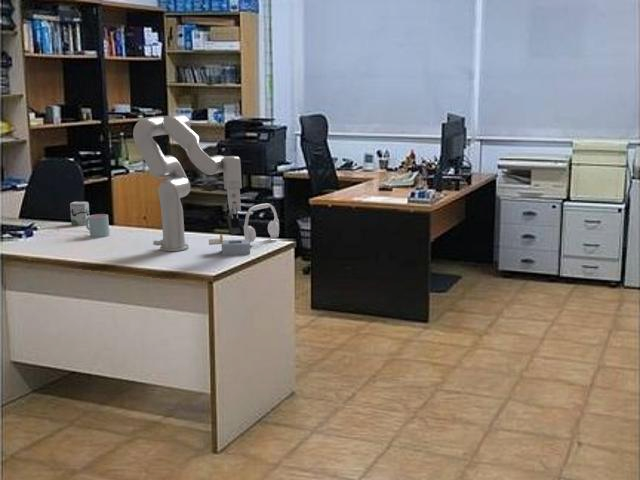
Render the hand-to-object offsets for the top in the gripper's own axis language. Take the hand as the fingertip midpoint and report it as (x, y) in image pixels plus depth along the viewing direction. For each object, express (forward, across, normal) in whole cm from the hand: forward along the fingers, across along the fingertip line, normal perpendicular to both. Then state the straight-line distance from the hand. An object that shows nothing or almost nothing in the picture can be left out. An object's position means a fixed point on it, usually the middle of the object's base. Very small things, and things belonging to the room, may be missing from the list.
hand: (235, 226), depth 361 cm
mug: (+11, +55, +66) cm, 87 cm away
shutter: (+7, 0, +9) cm, 11 cm away
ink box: (+11, +88, +78) cm, 118 cm away
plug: (+3, 0, 0) cm, 3 cm away
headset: (+12, +19, -13) cm, 26 cm away
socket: (+12, 0, 0) cm, 12 cm away
